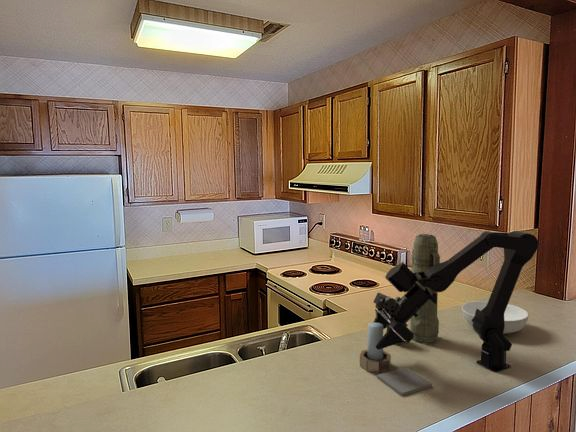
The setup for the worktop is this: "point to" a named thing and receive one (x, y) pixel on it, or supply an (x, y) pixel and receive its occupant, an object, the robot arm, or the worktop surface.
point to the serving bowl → (512, 316)
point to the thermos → (422, 259)
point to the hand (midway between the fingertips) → (372, 341)
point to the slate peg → (374, 341)
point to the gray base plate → (404, 381)
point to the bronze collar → (375, 362)
